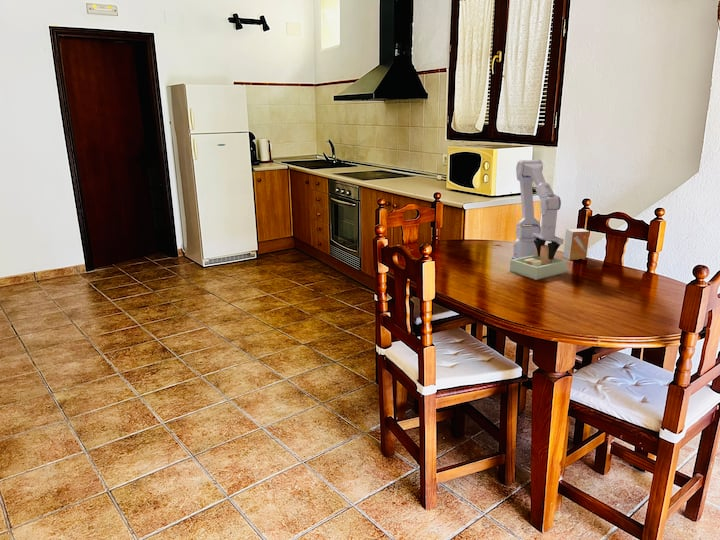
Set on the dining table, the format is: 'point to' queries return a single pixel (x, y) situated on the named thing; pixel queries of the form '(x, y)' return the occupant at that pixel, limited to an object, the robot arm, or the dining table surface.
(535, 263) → the birch cube
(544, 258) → the terracotta capsule
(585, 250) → the small box
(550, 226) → the robot arm
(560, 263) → the tote
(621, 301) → the dining table surface
